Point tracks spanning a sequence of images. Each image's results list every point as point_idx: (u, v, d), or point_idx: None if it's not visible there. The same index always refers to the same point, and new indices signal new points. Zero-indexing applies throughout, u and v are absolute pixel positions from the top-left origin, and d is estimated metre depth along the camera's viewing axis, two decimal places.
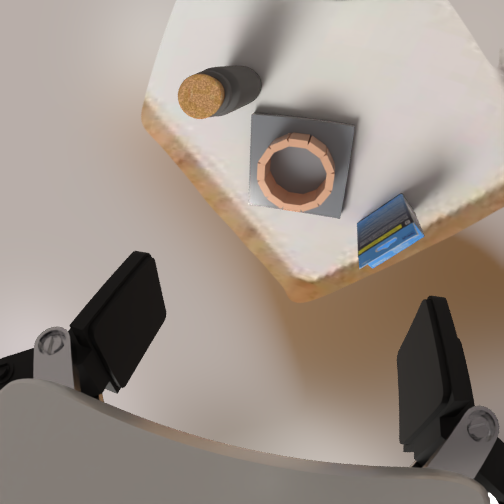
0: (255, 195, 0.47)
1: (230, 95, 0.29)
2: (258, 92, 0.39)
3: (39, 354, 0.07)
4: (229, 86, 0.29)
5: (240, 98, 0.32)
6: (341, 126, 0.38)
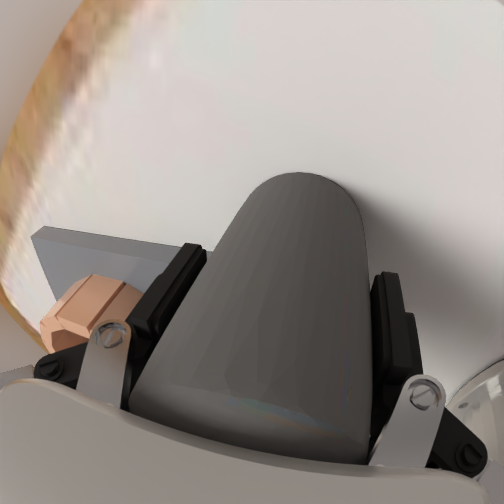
0: (48, 251, 0.18)
1: None
2: None
3: (97, 348, 0.07)
4: None
5: None
6: None
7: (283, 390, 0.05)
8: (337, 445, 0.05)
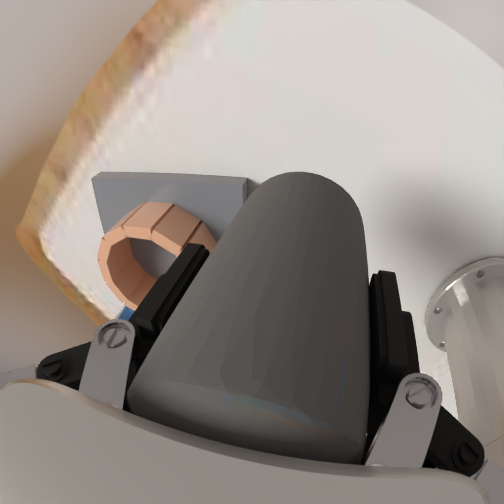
0: (107, 189, 0.26)
1: None
2: None
3: (101, 348, 0.07)
4: None
5: None
6: None
7: (278, 388, 0.05)
8: (332, 443, 0.05)
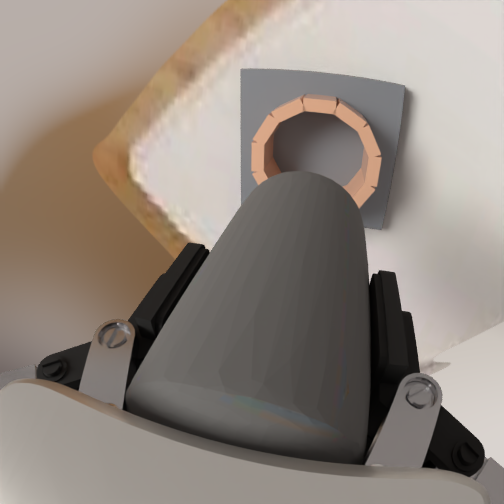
0: (259, 80, 0.24)
1: None
2: None
3: (101, 348, 0.07)
4: None
5: None
6: (382, 213, 0.28)
7: (278, 389, 0.05)
8: (332, 444, 0.05)
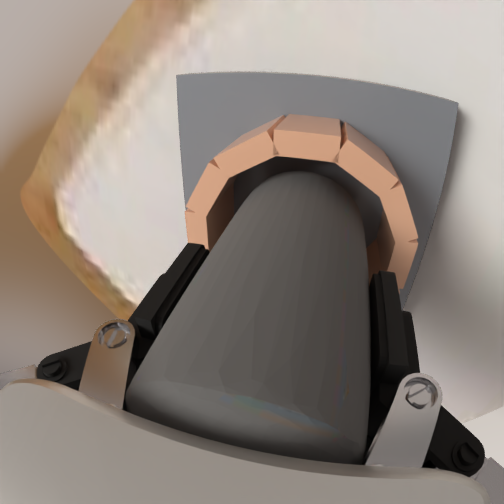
0: (207, 92, 0.14)
1: None
2: None
3: (101, 348, 0.07)
4: None
5: None
6: (402, 301, 0.18)
7: (278, 388, 0.05)
8: (332, 444, 0.05)
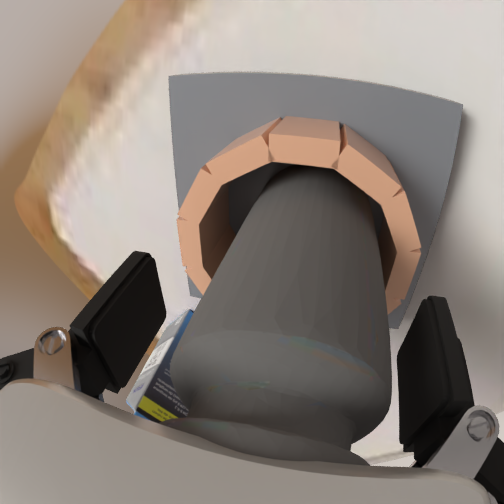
0: (200, 93, 0.14)
1: None
2: None
3: (39, 354, 0.07)
4: None
5: None
6: (403, 309, 0.18)
7: (324, 331, 0.06)
8: (369, 383, 0.06)
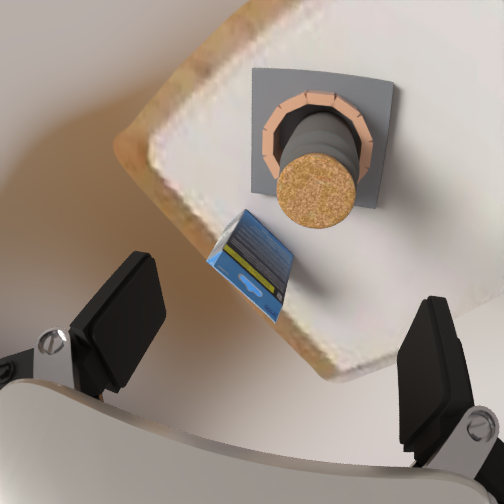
0: (268, 77, 0.28)
1: None
2: None
3: (39, 354, 0.07)
4: None
5: None
6: (376, 194, 0.32)
7: (333, 133, 0.20)
8: (348, 149, 0.20)
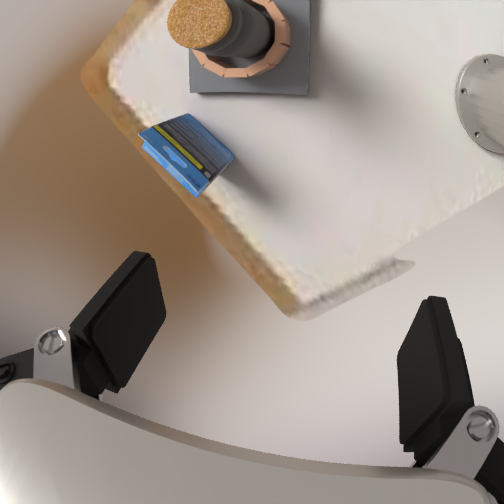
0: None
1: (206, 51, 0.20)
2: None
3: (39, 354, 0.07)
4: (218, 49, 0.20)
5: (211, 55, 0.23)
6: (305, 80, 0.31)
7: None
8: (240, 3, 0.19)
